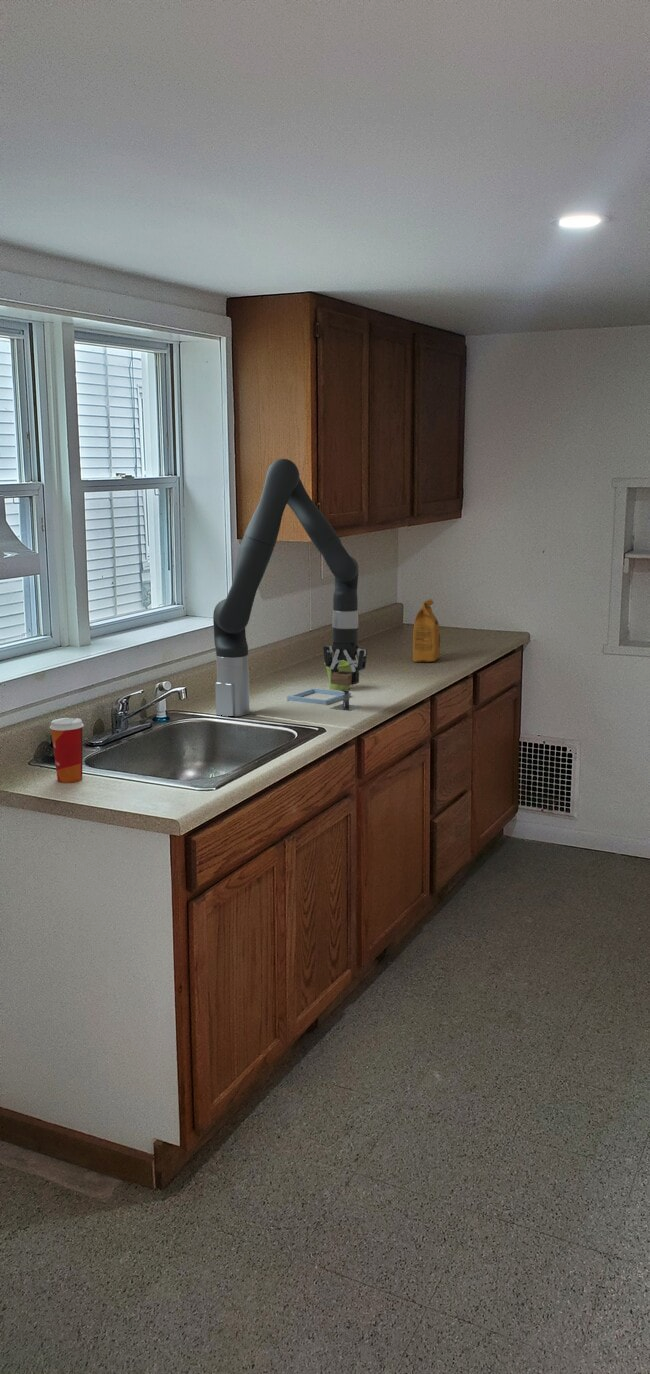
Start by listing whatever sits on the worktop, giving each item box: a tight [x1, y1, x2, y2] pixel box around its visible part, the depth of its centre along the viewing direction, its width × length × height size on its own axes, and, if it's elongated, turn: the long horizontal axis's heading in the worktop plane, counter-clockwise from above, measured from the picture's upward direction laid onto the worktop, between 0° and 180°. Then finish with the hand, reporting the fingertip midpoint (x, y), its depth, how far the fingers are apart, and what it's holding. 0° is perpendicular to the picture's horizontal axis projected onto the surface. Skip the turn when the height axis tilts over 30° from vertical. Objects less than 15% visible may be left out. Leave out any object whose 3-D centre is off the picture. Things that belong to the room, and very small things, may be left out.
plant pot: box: [323, 660, 352, 691], centre depth 353 cm, size 9×9×9 cm
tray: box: [286, 687, 352, 706], centre depth 336 cm, size 14×14×2 cm
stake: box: [329, 689, 363, 712], centre depth 323 cm, size 7×7×6 cm
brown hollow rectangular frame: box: [331, 671, 360, 687], centre depth 322 cm, size 8×6×3 cm
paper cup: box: [49, 717, 85, 784], centre depth 254 cm, size 8×8×14 cm
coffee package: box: [412, 598, 441, 663], centre depth 401 cm, size 10×12×22 cm
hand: (345, 682), depth 321 cm, fingers closed on brown hollow rectangular frame, 6 cm apart
